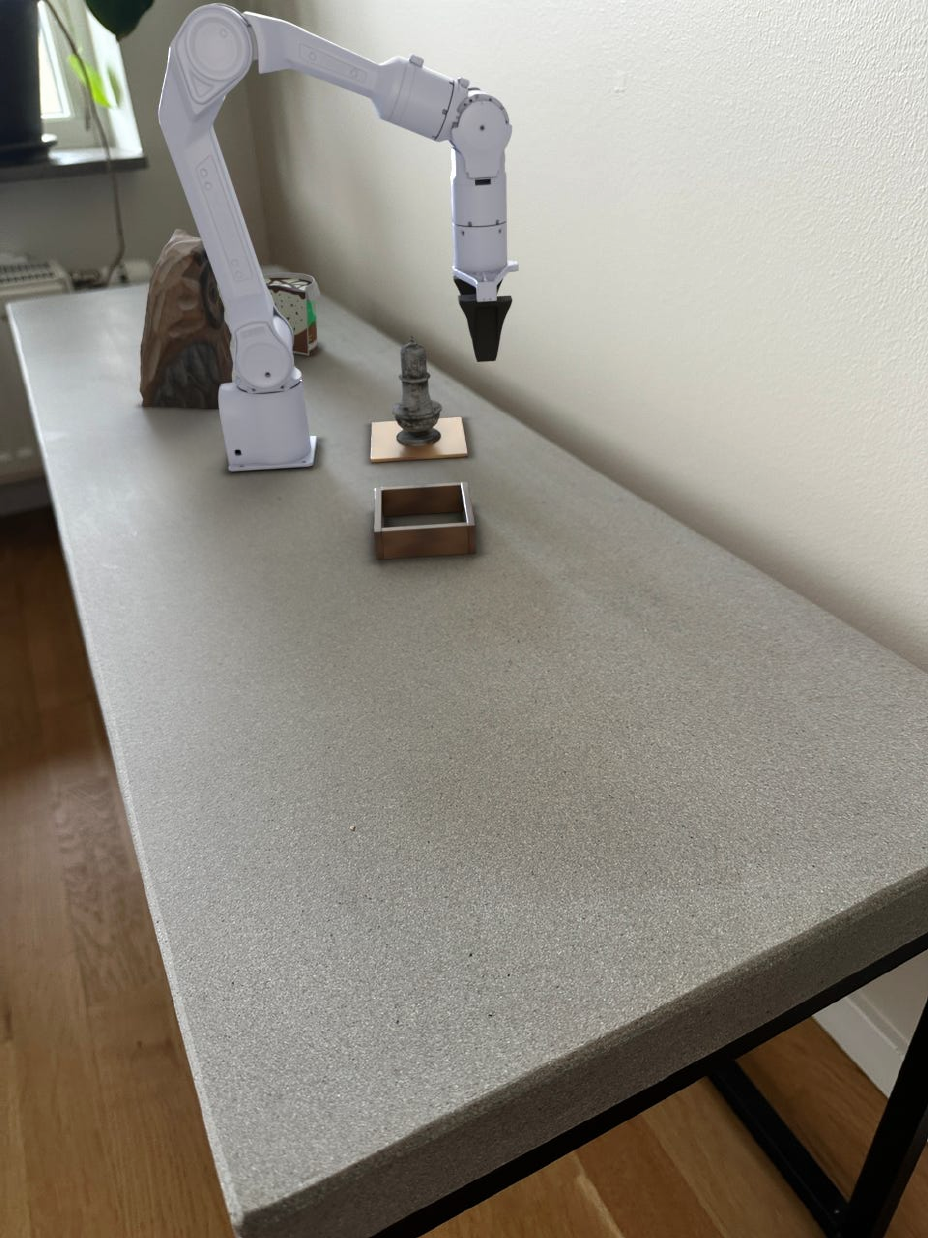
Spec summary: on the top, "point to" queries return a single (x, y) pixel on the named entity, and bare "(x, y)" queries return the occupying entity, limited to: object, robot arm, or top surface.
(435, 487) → the holder
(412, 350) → the salt shaker
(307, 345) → the food container
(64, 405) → the top surface
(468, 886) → the top surface
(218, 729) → the top surface
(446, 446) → the coaster
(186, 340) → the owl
